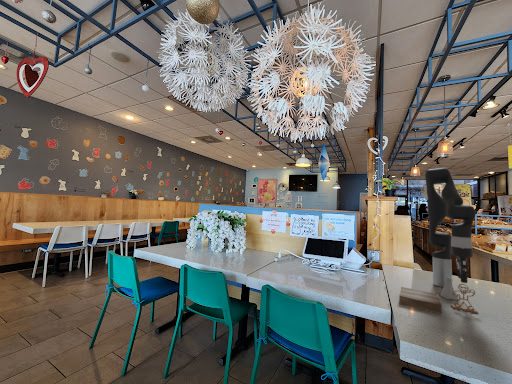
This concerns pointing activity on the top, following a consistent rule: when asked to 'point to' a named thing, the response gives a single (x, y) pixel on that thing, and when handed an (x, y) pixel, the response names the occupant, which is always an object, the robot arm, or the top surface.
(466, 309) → the gingerbread man figurine
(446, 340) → the top surface
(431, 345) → the top surface
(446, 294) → the flask
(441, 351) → the top surface
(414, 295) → the walnut plinth
